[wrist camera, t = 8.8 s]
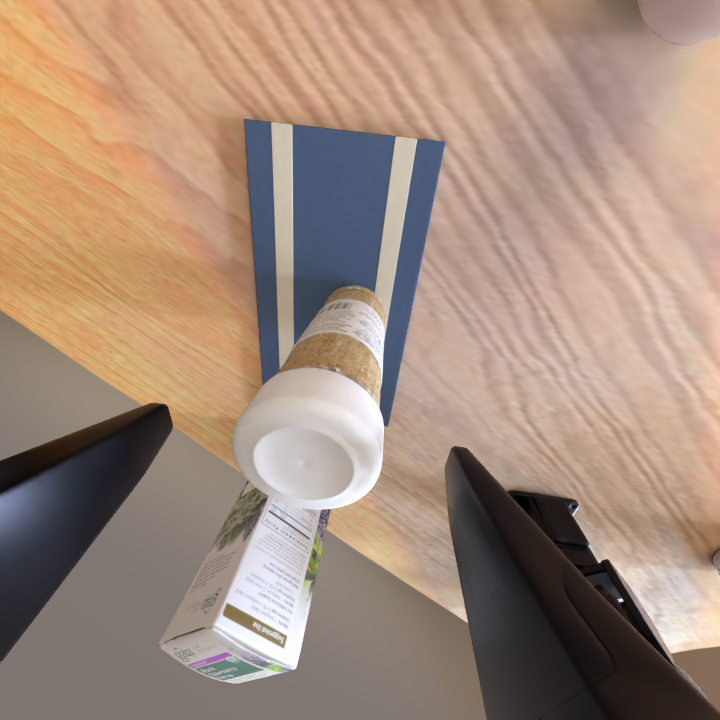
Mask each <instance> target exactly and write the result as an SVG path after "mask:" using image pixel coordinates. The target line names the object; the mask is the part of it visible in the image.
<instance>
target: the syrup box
mask: <svg viewBox="0 0 720 720" xmlns="http://www.w3.org/2000/svg"><path fill="white" fill-rule="evenodd" d="M329 513H330V509H322V510H318V509H305V508H299V507H295V506H291V505H288V504H284V503H282V502H280V501H277V500H275V499H273V498H271V497H269V496H268V495H266V494H264V493H263V492H261V491H260V490H259V489H257V488H256V487H255V486H254V485H252V484H251V483H250V482H249V481H247V483H246V485H245V487H244V489H243V491H242V493H241V494H240V496H239V498H238V500H237V502H236V503H235V505H234V507H233V509H232V511H231V513H230V514H229V516H228V518H227V520H226V521H225V523H224V525H223V527H222V529H221V531H220V532H219V534H218V536H217V538H216V540H215V542H214V544H213V545H212V547H211V549H210V551H209V553H208V555H207V557H206V558H205V560H204V562H203V564H202V566H201V567H200V569H199V571H198V573H197V575H196V577H195V579H194V581H193V582H192V584H191V586H190V588H189V590H188V592H187V593H186V595H185V597H184V599H183V601H182V603H181V604H180V606H179V608H178V610H177V612H176V614H175V615H174V617H173V619H172V621H171V623H170V625H169V626H168V628H167V631H166V632H165V634H164V636H163V637H162V639H161V641H160V642H159V645H161V647H160V648H161V649H162V650H164V651H165V652H166V653H168V654H169V655H170V656H172V657H173V658H175V659H176V660H177V661H179V662H180V663H182V664H184V665H185V666H187V667H188V668H190V669H192V670H194V671H196V672H198V673H201V674H203V675H205V676H208V677H210V678H213V679H216V680H220V681H225V682H229V683H235V684H237V683H241V682H245V681H249V680H253V679H258V678H262V677H266V676H270V675H275V674H279V673H283V672H286V671H291V670H294V669H295V668H296V666H297V663H298V659H299V654H300V649H301V645H302V640H303V636H304V631H305V626H306V621H307V617H308V612H309V607H310V603H311V598H312V593H313V589H314V584H315V579H316V575H317V570H318V565H319V561H320V555H321V551H322V547H323V542H324V537H325V533H326V528H327V523H328V518H329Z"/></svg>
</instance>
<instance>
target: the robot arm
mask: <svg viewBox="0 0 720 720" xmlns="http://www.w3.org/2000/svg"><path fill="white" fill-rule="evenodd" d="M172 428H173V423H172V419H171V416H170V412H169V409H168V407H167V406H166V405H165V404H159V403H150V404H147V405H145V406H142V407H139V408H137V409H134V410H131V411H129V412H127V413H124V414H121V415H118V416H116V417H113V418H111V419H108V420H105V421H103V422H100V423H98V424H95V425H92V426H90V427H87V428H85V429H82V430H79V431H77V432H74V433H71V434H69V435H66V436H64V437H61V438H58V439H56V440H53V441H51V442H48V443H45V444H43V445H40V446H38V447H35V448H32V449H30V450H27V451H25V452H22V453H19V454H17V455H14V456H12V457H9V458H6V459H4V460H1V461H0V662H1V661H3V660H4V658H5V657H6V656H7V654H8V653H9V652H10V650H11V649H12V648H13V646H14V645H15V644H16V643H17V641H18V640H19V639H20V637H21V636H22V635H23V633H24V632H25V631H26V629H27V628H28V626H29V625H30V624H31V623H32V622H33V620H34V619H35V617H36V616H37V615H38V614H39V612H40V611H41V610H42V608H43V607H44V606H45V604H46V603H47V602H48V601H49V599H50V598H51V597H52V595H53V594H54V593H55V591H56V590H57V589H58V587H59V586H60V585H61V583H62V582H63V581H64V580H65V578H66V577H67V576H68V574H69V573H70V572H71V570H72V569H73V568H74V566H75V565H76V564H77V562H78V561H79V560H80V558H81V557H82V556H83V555H84V553H85V552H86V551H87V549H88V548H89V547H90V545H91V544H92V543H93V542H94V540H95V539H96V537H97V536H98V535H99V534H100V532H101V531H102V530H103V528H104V527H105V526H106V524H107V523H108V522H109V521H110V519H111V518H112V517H113V515H114V514H115V513H116V511H117V510H118V509H119V507H120V506H121V505H122V503H123V502H124V501H125V500H126V498H127V497H128V496H129V494H130V493H131V492H132V490H133V489H134V488H135V486H136V485H137V484H138V482H139V481H140V480H141V478H142V477H143V476H144V474H145V473H146V471H147V470H148V468H149V466H150V465H151V463H152V462H153V460H154V458H155V457H156V455H157V454H158V452H159V450H160V449H161V447H162V446H163V444H164V442H165V441H166V439H167V438H168V436H169V434H170V433H171V431H172ZM445 480H446V492H447V504H448V516H449V524H450V530H451V536H452V541H453V546H454V551H455V556H456V562H457V567H458V572H459V577H460V582H461V588H462V593H463V598H464V603H465V608H466V614H467V619H468V624H469V629H470V634H471V639H472V645H473V650H474V655H475V660H476V665H477V671H478V675H479V681H480V687H481V692H482V697H483V702H484V707H485V712H486V718H487V720H720V712H719V711H718V710H717V709H716V708H715V707H714V706H713V705H712V704H711V703H710V702H709V701H708V700H707V699H706V698H705V697H704V696H703V695H702V694H701V693H700V692H699V691H698V690H697V689H696V688H695V687H694V686H693V685H691V683H689V682H688V681H687V680H686V679H685V678H684V677H683V675H682V673H681V671H680V669H679V668H678V666H677V664H676V662H675V661H674V659H673V657H672V655H671V654H670V652H669V650H668V648H667V647H666V645H665V643H664V641H663V640H662V638H661V636H660V634H659V633H658V631H657V629H656V627H655V626H654V624H653V622H652V620H651V619H650V617H649V616H648V614H647V613H646V611H645V610H644V608H643V607H642V605H641V604H640V602H639V601H638V599H637V598H636V596H635V594H634V593H633V591H632V590H631V588H630V587H629V585H628V584H627V583H626V582H625V580H624V579H623V578H622V576H621V575H620V574H619V573H618V571H617V570H616V569H615V567H614V566H613V565H612V563H611V562H610V561H609V560H608V559H607V560H603V561H601V563H598V561H597V560H596V558H595V556H594V555H593V553H592V551H591V550H590V548H589V545H590V544H589V542H588V540H587V539H586V537H585V535H584V534H583V532H582V530H581V529H580V527H579V525H578V524H577V522H576V520H575V519H574V517H573V514H574V513H575V512H576V510H577V509H578V508H579V504H578V503H577V501H576V500H573V499H567V498H560V497H553V496H547V495H540V494H534V493H527V492H520V491H511V492H509V493H507V492H506V490H505V489H504V488H503V487H502V486H501V485H500V484H499V483H498V482H497V481H496V479H495V478H494V477H493V476H492V475H491V474H490V473H489V472H488V471H487V470H486V468H485V467H484V466H483V465H482V464H481V463H480V462H479V461H478V460H477V459H476V458H475V456H474V455H473V454H472V453H471V452H470V451H469V450H468V449H467V448H464V447H458V446H454V447H452V448H451V451H450V454H449V456H448V459H447V462H446V465H445ZM618 599H623V602H619V600H618Z"/></svg>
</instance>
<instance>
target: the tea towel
mask: <svg viewBox="0 0 720 720" xmlns="http://www.w3.org/2000/svg"><path fill="white" fill-rule="evenodd" d="M244 122H245V137H246V151H247V165H248V180H249V194H250V208H251V223H252V237H253V251H254V265H255V280H256V294H257V308H258V323H259V337H260V351H261V365H262V380H263V385H264V384H265V383H266V382H267V381H268V380H270V379H271V378H272V377H273V376H274V375H276V374H277V373H278V372H279V370H280V369H281V367H282V366H283V365H284V363H285V361H286V360H287V358H288V356H289V353H290V351H291V350H292V348H293V347H294V345H295V344H296V342H297V341H298V340H299V338H300V337H301V335H302V334H303V333H304V331H305V330H306V328H307V327H308V326H309V324H310V323H311V322H312V320H313V319H314V317H315V316H316V315H317V313H318V312H319V311H320V310H321V309H322V308H323V306H324V304H325V302H326V300H327V299H328V297H329V296H330V295H331V294H332V293H333V292H335V291H336V290H337V289H339V288H342V287H346V286H352V285H357V286H362V287H365V288H367V289H369V290H371V291H373V292H374V293H375V294H376V295H377V296H378V297H379V298H380V300H381V301H382V303H383V305H384V308H385V311H386V323H385V326H384V351H383V374H382V385H381V389H380V412H381V415H382V418H383V425H384V426H387V427H388V424H389V419H390V414H391V409H392V404H393V399H394V394H395V389H396V384H397V379H398V374H399V369H400V364H401V359H402V354H403V349H404V344H405V339H406V334H407V329H408V325H409V320H410V315H411V310H412V305H413V300H414V295H415V290H416V285H417V280H418V275H419V270H420V265H421V260H422V255H423V250H424V245H425V240H426V235H427V230H428V226H429V221H430V216H431V211H432V206H433V201H434V196H435V191H436V186H437V181H438V176H439V171H440V166H441V161H442V156H443V151H444V146H445V142H443V141H434V140H425V139H417V138H408V137H399V136H390V135H381V134H372V133H363V132H355V131H346V130H337V129H328V128H319V127H311V126H302V125H293V124H285V123H276V122H267V121H258V120H249V119H244Z"/></svg>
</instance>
